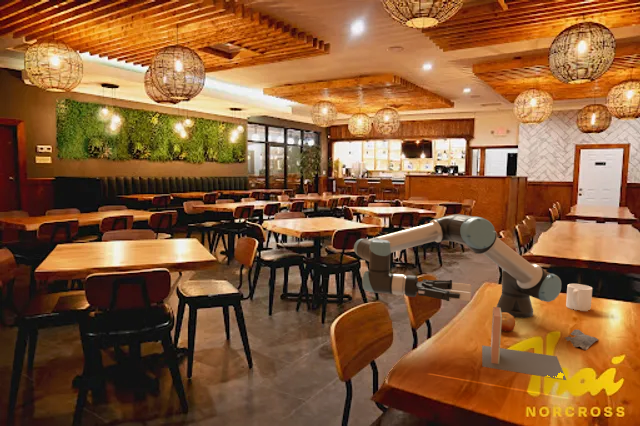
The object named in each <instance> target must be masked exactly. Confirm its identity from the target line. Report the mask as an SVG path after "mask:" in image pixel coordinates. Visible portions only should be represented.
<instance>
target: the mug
mask: <svg viewBox="0 0 640 426" xmlns="http://www.w3.org/2000/svg"><path fill="white" fill-rule="evenodd" d="M592 297H593V287H592V286H589V285H587V284H579V283H569V284H567V288H566V301H565V306H566V308H567V309H570V310H573V309H574V310H573V311H577V310H580V311H579V312H589V311H588V310H590V309H592V308H591V307H592V300H593V299H592ZM590 311H591V310H590Z"/></svg>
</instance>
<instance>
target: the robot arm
mask: <svg viewBox="0 0 640 426" xmlns="http://www.w3.org/2000/svg"><path fill="white" fill-rule="evenodd" d="M495 229H496V228H495V226H494V224H492V222H491V221H489V220H488V219H487V218H484V217H481V216H472V215H467V214H461V213H456V214H455V213H454V214H450V215H446V216H442V217H438V218H434V219H431V220H430V221H429V223H426V224H422V225H419V226H414V227H410V228H407V229H403V230H399V231H395V232H391V233H388V234H384V235H380V236H375V237H372V238H360V239H357V240H356V242H355V243H354V245H353V251H354V253H355V254H356V255H357V256H358V257H359V258H361V259H362V260H365V261H367V262H369V265H368V267H369V268H368V270H366V271H364V272H363V275H362V284H361V285H362V289H363V290H364V291H366V292H370V293H375V294H387V295H395V296H396V297H399V296H404V295H405V297H410V298H411V297H413V298H415V297H416V296H417V295H418V296H422V297H428V298H433V299H439V300H443V301H446V302H450V299H451V300H459V301H467V302H471V295H472V294H471V293H472V284H469V283H461V282H453V280H452V279H449V280H443V279H440V280H437V279H425V278H424V279H423V280H422V281H419V280H418V276H417V275H412V274H411V275H410V274H407V275H406V274H404V273H403V274H402V273H391V254H392V253H395V252H399V251H404V250H405V249H409V248H410V249H411V248H413V247H418V246H422V245H424V244H428V243H432V242H436V243H441V242H454V243H457V244H460V245H463V246H465V247H466V248H468V249H469V250H471V251H472V252H473V253H475V254H476V255H482V254H483V256H486V258H488V259H489V260H490V261H491V262H492V263H494V264H495V265H497V266H498V267H500V269H502V277H501V280H502V281H501V294H500V297H499V299H498V302H497V304H496V307H499V308H501V312H507V313H509V314H510V315H512V316H513V317H514V318H519V319H520V318H521V319H526V318H527V319H528V318H532V317H533V316H534V308H533V305H532V301H531V297H532V298H534V299H537V300H539V301H542V302H547V303H549V302H552V301H555V300H556V299H557V298H558V296H559V295H560V294H561V290H562V280H561V278H560V277H559V276H558V275H557V274H555V273H550V272H548V271H546V270H545V269H544V268H543V267H541V266H540V265H538V264H537V263H531V262H529V261H528V260H527V259H525V258H524V257H523V256H521V254H519V253H517V251H516V250H514V249H512V247H510V246H509V245H508V244H506V243H505V242H504V241H503V240H501V239H500V238H499V237H498V233H497V231H496V230H495Z"/></svg>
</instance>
